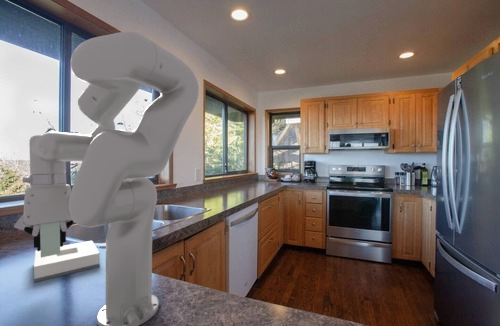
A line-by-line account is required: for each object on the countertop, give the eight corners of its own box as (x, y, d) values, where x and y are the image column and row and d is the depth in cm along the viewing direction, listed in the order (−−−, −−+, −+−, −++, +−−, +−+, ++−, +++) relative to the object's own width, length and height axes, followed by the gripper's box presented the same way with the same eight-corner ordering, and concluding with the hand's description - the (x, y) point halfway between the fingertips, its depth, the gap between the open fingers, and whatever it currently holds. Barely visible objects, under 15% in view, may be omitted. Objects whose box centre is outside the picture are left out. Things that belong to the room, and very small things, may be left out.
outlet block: (99, 266, 78) (99, 252, 78) (34, 282, 68) (34, 266, 68) (92, 252, 90) (92, 240, 90) (35, 263, 80) (35, 250, 80)
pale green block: (60, 253, 64) (59, 216, 65) (40, 257, 62) (39, 219, 62) (59, 249, 68) (58, 214, 68) (40, 253, 65) (40, 217, 65)
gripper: (3, 183, 56) (4, 260, 56) (87, 179, 67) (89, 243, 67) (6, 182, 62) (8, 252, 62) (84, 178, 73) (85, 237, 73)
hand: (50, 246), depth 65 cm, fingers closed on pale green block, 4 cm apart
